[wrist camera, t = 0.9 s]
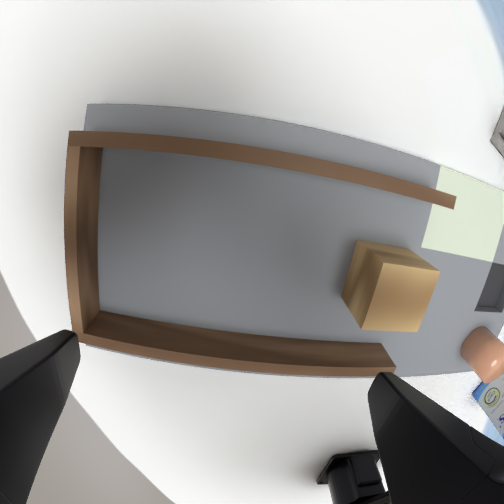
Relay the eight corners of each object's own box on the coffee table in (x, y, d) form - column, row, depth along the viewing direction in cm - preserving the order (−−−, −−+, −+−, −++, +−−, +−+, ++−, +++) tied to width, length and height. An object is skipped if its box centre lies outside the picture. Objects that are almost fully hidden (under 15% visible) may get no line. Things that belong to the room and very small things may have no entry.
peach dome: (477, 357, 23) (498, 381, 20) (454, 359, 23) (475, 385, 19) (493, 326, 22) (517, 348, 18) (470, 325, 22) (495, 350, 18)
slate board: (474, 363, 25) (480, 370, 24) (91, 336, 22) (86, 345, 21) (533, 207, 20) (541, 210, 19) (95, 105, 16) (87, 103, 15)
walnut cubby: (377, 351, 22) (392, 375, 19) (90, 317, 20) (74, 340, 17) (430, 188, 18) (456, 196, 15) (93, 131, 16) (69, 130, 13)
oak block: (391, 302, 20) (417, 332, 17) (341, 297, 20) (361, 329, 16) (408, 248, 19) (440, 271, 15) (357, 239, 19) (383, 262, 15)
